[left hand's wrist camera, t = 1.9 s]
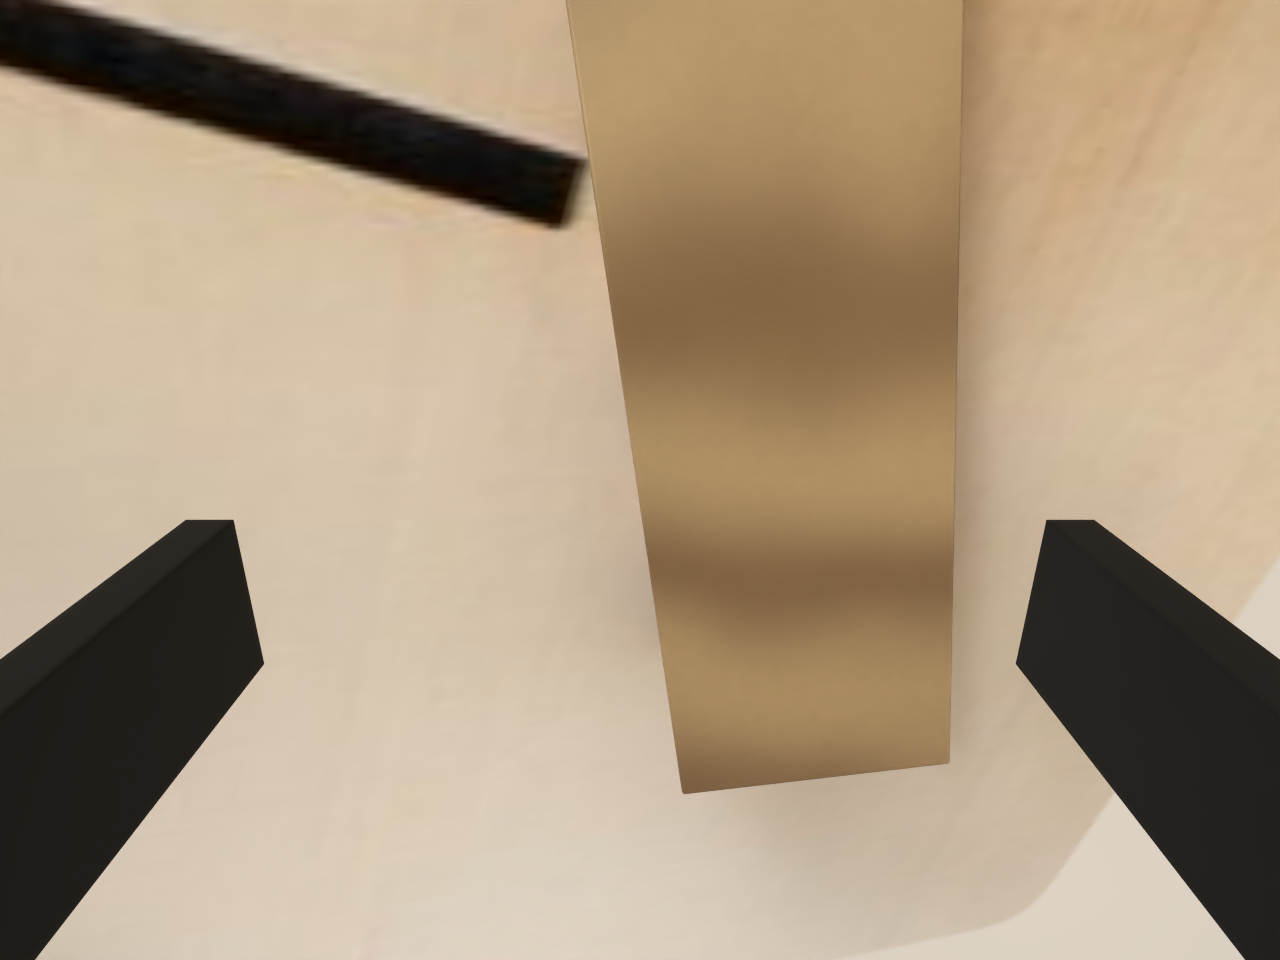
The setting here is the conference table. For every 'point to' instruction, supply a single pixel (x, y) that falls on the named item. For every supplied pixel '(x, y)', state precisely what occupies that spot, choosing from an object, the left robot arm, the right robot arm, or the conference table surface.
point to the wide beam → (787, 364)
